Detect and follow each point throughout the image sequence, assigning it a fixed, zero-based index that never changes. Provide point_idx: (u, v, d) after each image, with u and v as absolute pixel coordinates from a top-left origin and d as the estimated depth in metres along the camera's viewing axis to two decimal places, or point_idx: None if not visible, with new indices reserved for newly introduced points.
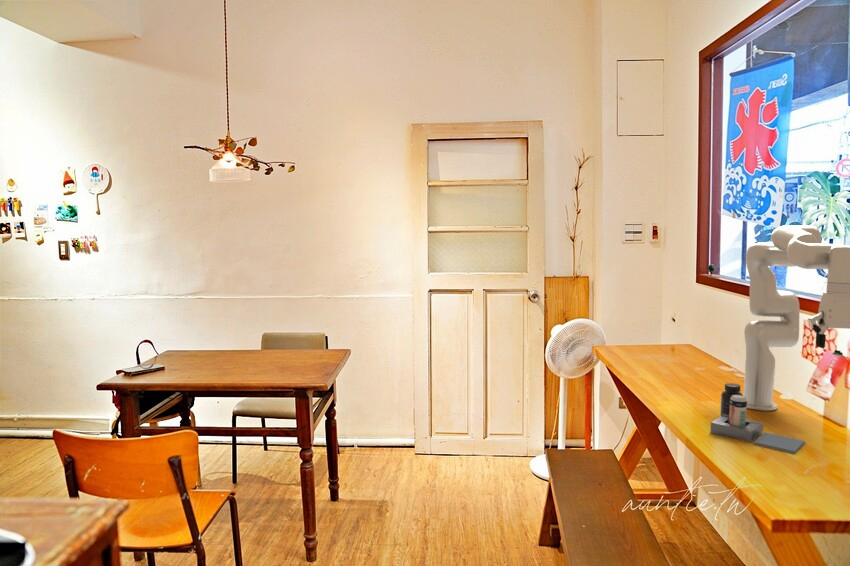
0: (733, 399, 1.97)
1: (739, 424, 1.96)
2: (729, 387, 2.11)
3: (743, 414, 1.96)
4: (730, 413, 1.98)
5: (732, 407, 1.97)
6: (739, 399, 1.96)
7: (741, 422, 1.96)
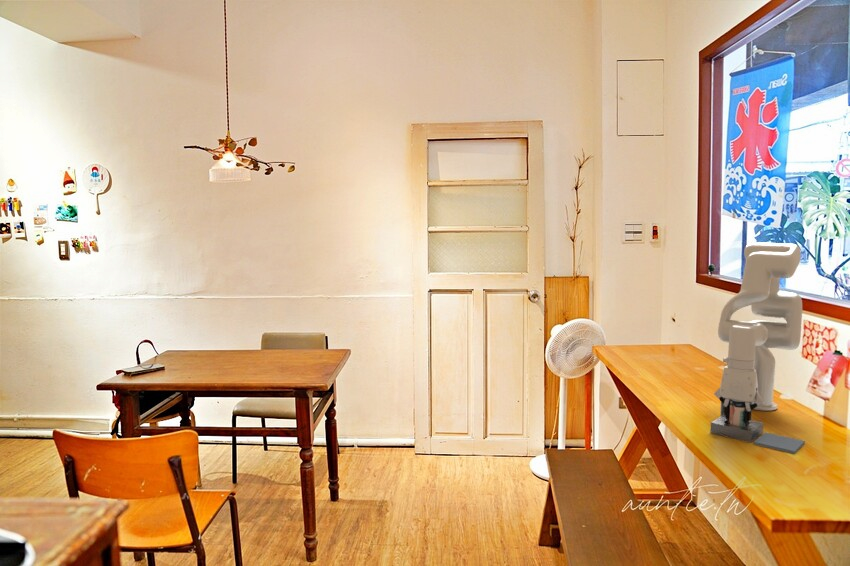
0: None
1: (739, 424, 1.96)
2: None
3: (743, 414, 1.96)
4: (730, 413, 1.98)
5: (732, 407, 1.97)
6: None
7: (741, 422, 1.96)
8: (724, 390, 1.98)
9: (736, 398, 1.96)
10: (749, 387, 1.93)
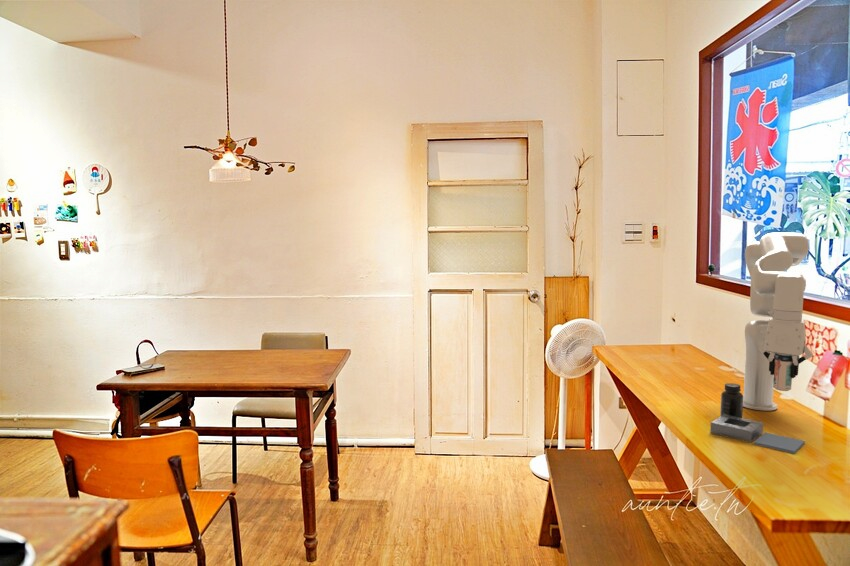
0: None
1: (785, 379, 1.86)
2: (729, 387, 2.11)
3: (790, 369, 1.85)
4: (775, 368, 1.88)
5: (778, 361, 1.87)
6: None
7: (787, 377, 1.86)
8: (769, 344, 1.87)
9: (782, 351, 1.85)
10: (797, 339, 1.82)
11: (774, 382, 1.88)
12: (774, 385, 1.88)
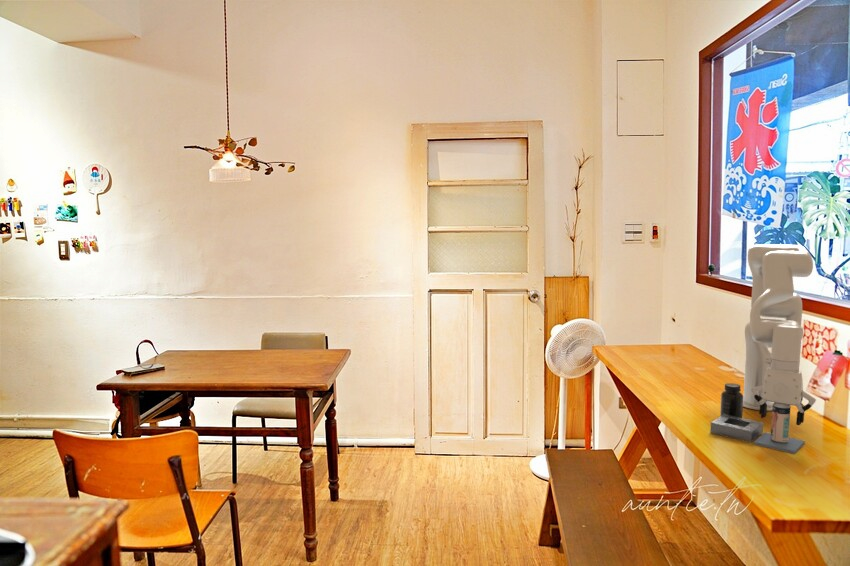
0: (776, 405, 1.88)
1: (783, 431, 1.87)
2: (729, 387, 2.11)
3: (787, 421, 1.87)
4: (773, 420, 1.89)
5: (775, 414, 1.88)
6: (783, 405, 1.87)
7: (785, 430, 1.87)
8: (767, 392, 1.89)
9: (780, 401, 1.86)
10: (794, 389, 1.83)
11: (771, 434, 1.90)
12: (771, 437, 1.90)
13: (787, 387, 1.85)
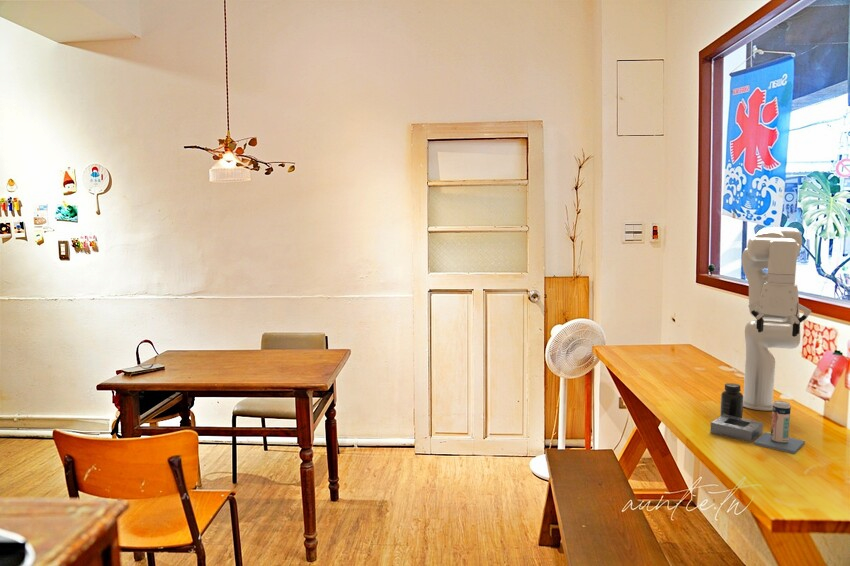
0: (776, 405, 1.88)
1: (783, 432, 1.87)
2: (729, 387, 2.11)
3: (787, 421, 1.87)
4: (773, 420, 1.89)
5: (775, 414, 1.88)
6: (783, 406, 1.87)
7: (785, 430, 1.87)
8: (764, 306, 1.95)
9: (776, 313, 1.92)
10: (790, 301, 1.90)
11: (771, 434, 1.90)
12: (771, 437, 1.90)
13: (783, 299, 1.91)
